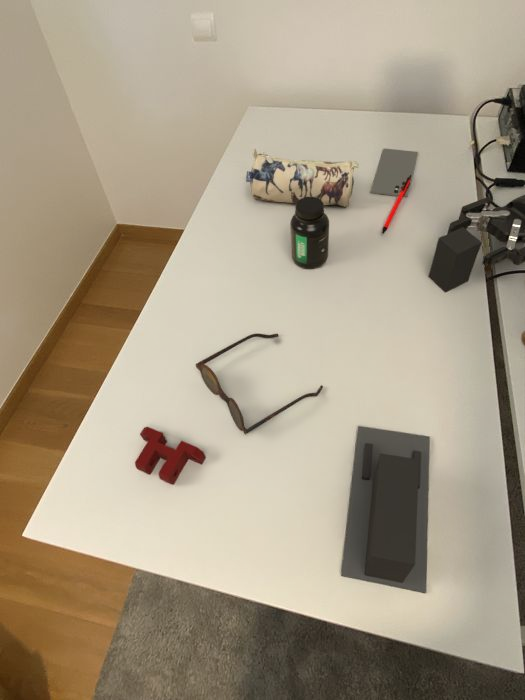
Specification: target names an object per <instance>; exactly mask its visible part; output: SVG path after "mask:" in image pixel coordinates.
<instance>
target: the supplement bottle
mask: <svg viewBox="0 0 525 700" xmlns="http://www.w3.org/2000/svg"><path fill="white" fill-rule="evenodd" d="M294 209H295V211H294V214H293V215H292V217H291V219H290V224H289V225H290V226H289V229H290V249H291V251H290V252H291V259H292V262H293V263H294V264H295V265H296V266H297V267H299V268H301V269H305V270H312V269H313V270H314V269H317V268H320V267H321V266H324V264H325V263H326V262H327V260H328V257H329V246H330V245H329V243H330V219H329V217H328V215H327V214H326V213H325V205H324V204H323V202H322V201H321V199H319V198H317V197H312V196H311V197H303V198H301V199H300V200H299V201H297V203H295V207H294Z"/></svg>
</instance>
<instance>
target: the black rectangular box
mask: <svg viewBox="0 0 525 700" xmlns="http://www.w3.org/2000/svg"><path fill="white" fill-rule="evenodd" d="M482 244H483V241H481V240H480V239H479V238H477V237H476V236H475V235H473V234H472V233H471V232H469V231H468V230H467V229H465V228H463V227H462V228H460V229H457V230H455V231H453V232H451V233H449V234H447V233H446V234H444V235H442V236H439V237H438V239H437V243H436V247H435V250H434V254H433V258H432V261H431V265H430V270H429V273H428V278H429V279H430V280H431V281H432V282H433V283H434V284H435V285H436V286H437V287H439V288H440V289H441V290H442V291H443V292H444V293H447V292H449V291H451V290H454V289H456V288H457V287H460V286H462V285H464V284H466V283H468V282H469V280H470V277H471V274H472V272H473V268H474V266H475V263H476V260H477V257H478V255H479V253H480V249H481V246H482Z"/></svg>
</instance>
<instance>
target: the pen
mask: <svg viewBox="0 0 525 700" xmlns="http://www.w3.org/2000/svg"><path fill="white" fill-rule="evenodd" d="M410 181H411V175H410V176H409V177H408V178H407V180H406V182H405V184H404V186H403V188H402V190H401V192H400V194H399V196H397V198H396V200H395V202H394V204H393V206H392V209H391V210H390V212H389V214H388V216H387V219H386V221H385V222H384V224H383V227H382V232H381V234H382V235H384V234H385V233H386V232H387V230H388V229H389V226H390V225H391V222H392V221H393V218H394V216H395V214H396V212H397V210H398V208H399V206H400V204H401V201H402V199H403V198H404V197H403V195H404V193H405V191H406V189H407V187H408V185H409V183H410ZM411 182H412V181H411Z"/></svg>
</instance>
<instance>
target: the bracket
mask: <svg viewBox="0 0 525 700" xmlns="http://www.w3.org/2000/svg"><path fill="white" fill-rule="evenodd" d="M139 435H140V437H141V439H142V440H143V441H145V442H146V444H145V445H144V447H143V449H142V450H141V452H140V453H139V455H138V456H137V458H136V459H135V461H134V466H135V468H136V470H138V471H139V472H142V473H145V474H147V475H151V474H152V473H153V471H154V470H155V468H156V466H157V465H158V463H159V462H160V459H161V460H163V461H164V463H163V465H162V466H161V467H160V469H159V471H158V478H159V480H160V481H163V482H164V483H167V484H169V485H172V486H174V485H175V484H176V482H177V480H178V479H179V477H180V475H181V474H182V471H183V469H184V468H185V467H186V464H187V463H188V461H189V460H190V461H193V462H195V463H197V464H199V465H203V463H204V462H205V460H206V458H207V457H206V454H205V452H204V451H203V450H202V449H200V448H199V447H197V446H195V445H193V444H190V443H188V442H185V441H183V440H180V441H179V443H178V445H177V447H176V448H173V447H170V446H168V445H166V444H167V443H168V440H167V439H166V437H165V435H164V433H163V432H162V431H159V430H156V429H155V428H152V427H150V426H144V427H143V428H142V430H141V432H140V433H139Z"/></svg>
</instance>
